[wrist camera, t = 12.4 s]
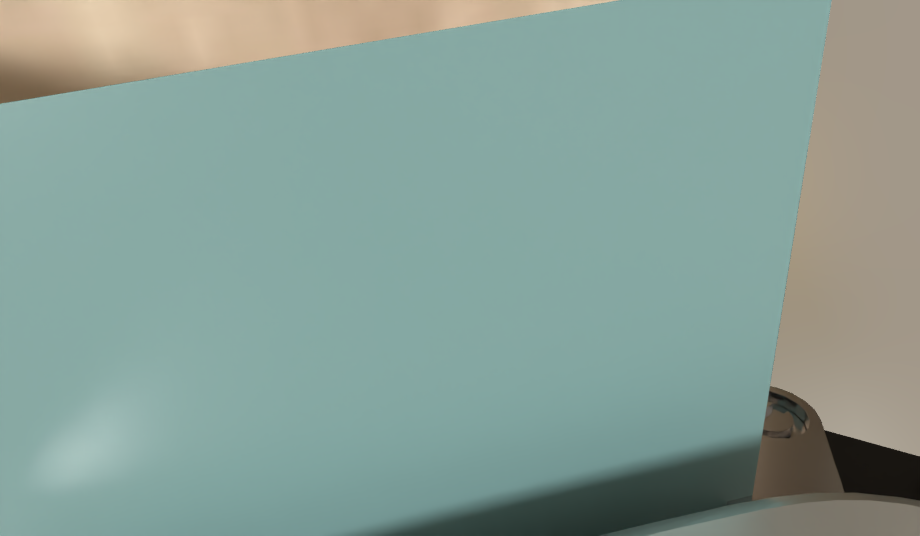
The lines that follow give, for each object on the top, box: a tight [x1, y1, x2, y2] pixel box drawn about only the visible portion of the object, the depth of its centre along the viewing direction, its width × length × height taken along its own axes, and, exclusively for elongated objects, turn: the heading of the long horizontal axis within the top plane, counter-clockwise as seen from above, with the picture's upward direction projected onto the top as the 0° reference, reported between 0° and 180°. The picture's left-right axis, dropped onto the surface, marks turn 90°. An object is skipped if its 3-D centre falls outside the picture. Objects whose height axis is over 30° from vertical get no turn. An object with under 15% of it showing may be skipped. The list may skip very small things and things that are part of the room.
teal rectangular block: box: [0, 0, 832, 536], centre depth 9 cm, size 13×8×8 cm, turn 9°
